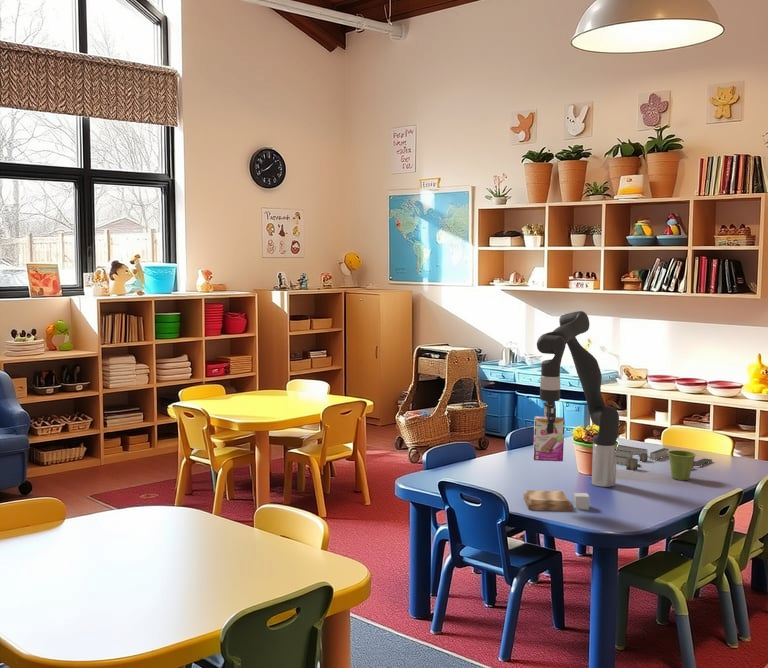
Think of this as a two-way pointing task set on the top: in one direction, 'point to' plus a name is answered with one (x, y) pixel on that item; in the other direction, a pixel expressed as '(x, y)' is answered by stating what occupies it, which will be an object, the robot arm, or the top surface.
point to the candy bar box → (548, 440)
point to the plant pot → (681, 463)
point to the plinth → (546, 506)
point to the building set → (643, 456)
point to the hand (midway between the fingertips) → (549, 431)
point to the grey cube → (581, 500)
